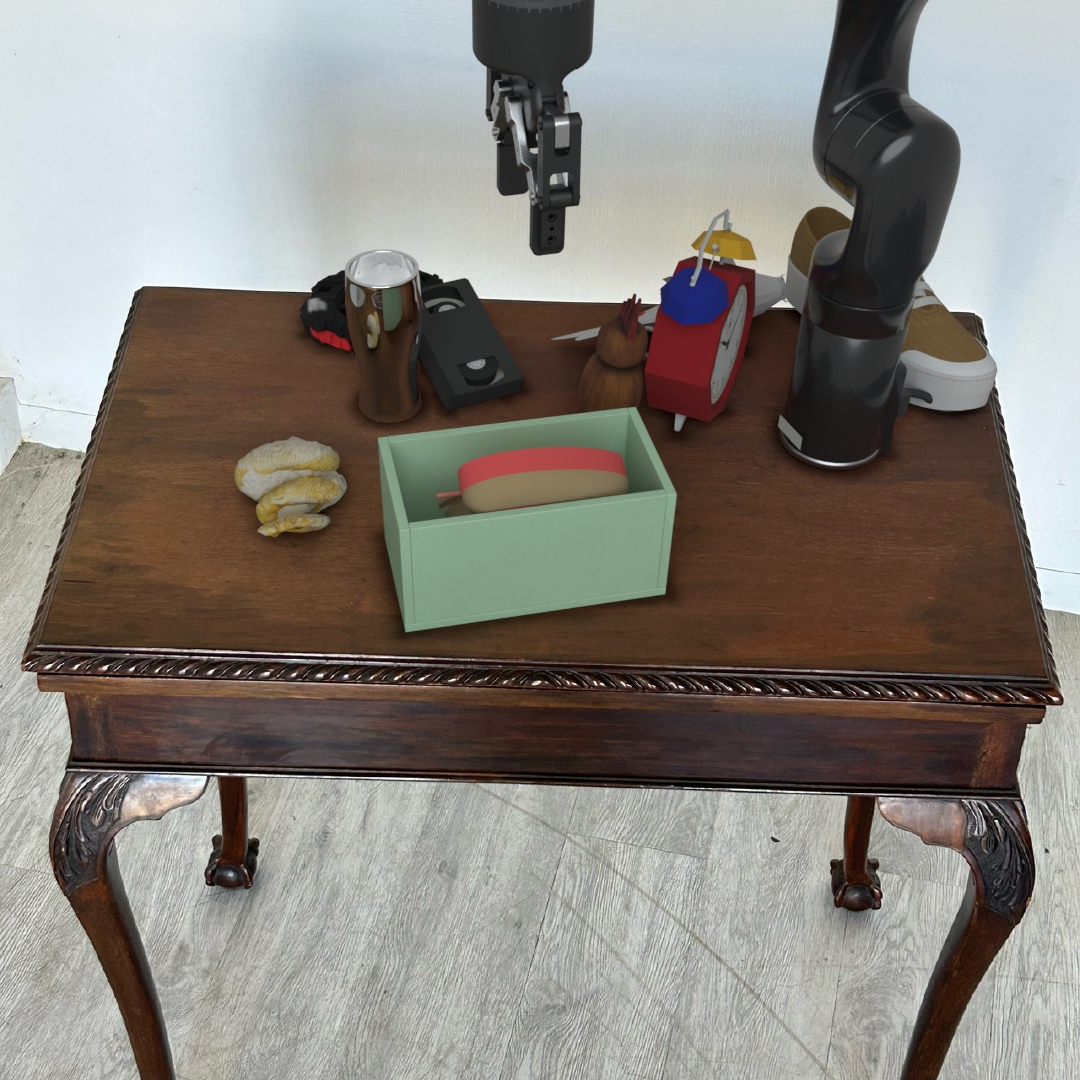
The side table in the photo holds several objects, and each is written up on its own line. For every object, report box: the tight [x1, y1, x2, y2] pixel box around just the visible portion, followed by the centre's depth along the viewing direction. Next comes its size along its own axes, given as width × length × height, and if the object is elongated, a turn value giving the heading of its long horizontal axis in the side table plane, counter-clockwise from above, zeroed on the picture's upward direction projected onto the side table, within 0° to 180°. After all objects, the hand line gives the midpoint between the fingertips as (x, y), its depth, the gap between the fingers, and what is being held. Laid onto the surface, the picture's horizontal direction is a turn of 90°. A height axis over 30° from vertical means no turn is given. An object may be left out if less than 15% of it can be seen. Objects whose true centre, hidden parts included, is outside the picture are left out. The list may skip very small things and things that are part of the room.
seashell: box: [233, 435, 348, 538], centre depth 119 cm, size 10×6×15 cm
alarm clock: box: [642, 208, 758, 432], centre depth 126 cm, size 15×9×20 cm, turn 157°
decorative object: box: [436, 447, 629, 518], centre depth 110 cm, size 14×4×15 cm
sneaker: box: [785, 205, 998, 412], centre depth 137 cm, size 10×29×10 cm, turn 27°
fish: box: [550, 257, 789, 341], centre depth 140 cm, size 10×26×10 cm
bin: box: [377, 407, 678, 633], centre depth 111 cm, size 22×12×11 cm, turn 103°
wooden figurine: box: [576, 293, 649, 414], centre depth 124 cm, size 7×6×15 cm
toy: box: [299, 269, 444, 352], centre depth 142 cm, size 17×16×3 cm
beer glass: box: [344, 248, 423, 424], centre depth 127 cm, size 7×7×15 cm
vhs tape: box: [418, 277, 523, 412], centre depth 135 cm, size 14×8×2 cm, turn 25°
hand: (529, 221), depth 94 cm, fingers open, 8 cm apart
